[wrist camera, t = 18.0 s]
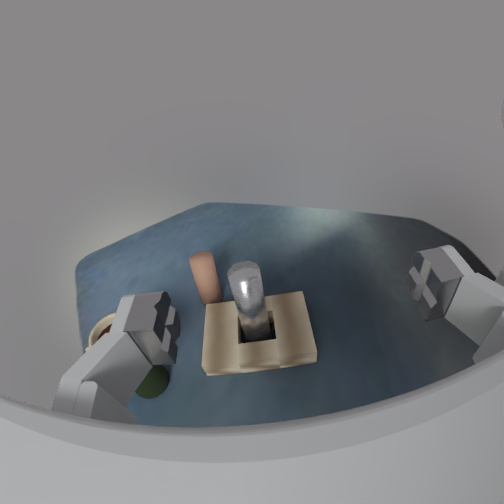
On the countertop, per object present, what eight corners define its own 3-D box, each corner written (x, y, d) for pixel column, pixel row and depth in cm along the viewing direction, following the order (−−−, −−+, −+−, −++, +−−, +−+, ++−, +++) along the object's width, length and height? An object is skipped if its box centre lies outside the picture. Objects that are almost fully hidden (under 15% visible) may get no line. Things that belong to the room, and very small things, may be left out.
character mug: (181, 357, 42) (148, 302, 34) (187, 395, 36) (149, 345, 28) (122, 370, 40) (80, 321, 32) (123, 407, 35) (73, 362, 27)
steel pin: (270, 326, 44) (258, 259, 36) (272, 346, 41) (260, 280, 33) (245, 329, 45) (227, 263, 36) (246, 350, 41) (227, 285, 33)
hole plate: (302, 303, 47) (302, 290, 45) (316, 362, 38) (317, 351, 36) (210, 315, 48) (206, 304, 46) (207, 375, 38) (201, 365, 37)
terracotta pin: (212, 289, 54) (202, 249, 49) (227, 297, 51) (217, 255, 46) (197, 300, 51) (184, 260, 47) (210, 309, 49) (199, 267, 44)
